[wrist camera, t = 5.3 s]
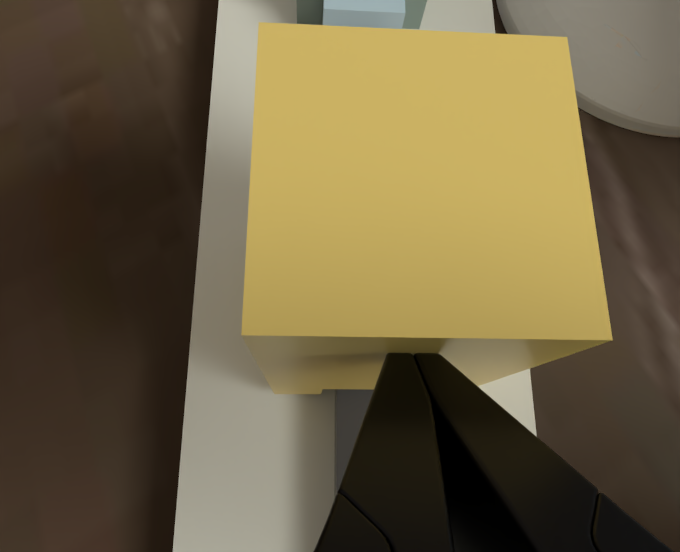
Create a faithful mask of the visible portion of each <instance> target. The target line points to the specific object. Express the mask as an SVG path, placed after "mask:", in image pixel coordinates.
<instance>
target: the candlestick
mask: <svg viewBox="0 0 680 552" xmlns="http://www.w3.org/2000/svg"><path fill="white" fill-rule="evenodd" d="M496 2H497V7H498V10H499V14H500V17H501V20H502V22H503V25H504V27H505V30H506V32H507V34H515V35H536V36H556V37H567V39H568V46H569V52H570V59H571V66H572V72H573V79H574V86H575V93H576V99H577V106H578V108H580V109H582V110H583V111H585V112H587V113H589V114H591V115H593V116H595V117H597V118H599V119H601V120H604V121H606V122H609V123H611V124H614V125H616V126H619V127H622V128H625V129H629V130H632V131H636V132H640V133H645V134H650V135H656V136H664V137H680V0H496Z"/></svg>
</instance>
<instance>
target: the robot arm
mask: <svg viewBox="0 0 680 552" xmlns="http://www.w3.org/2000/svg"><path fill="white" fill-rule="evenodd" d="M313 552H674V551H673V550H671V549H670V548H669V547H667V546H666V545H665V544H663V543H662V542H661V541H660V540H658V539H657V538H656V537H655V536H654V535H652V534H651V533H650V532H649V531H648V530H646V529H645V528H644V527H643V526H641V525H640V524H639V523H638V522H637V521H635V520H634V519H633V518H632V517H630V516H629V515H628V514H627V513H626V512H624V511H623V510H622V509H621V508H620V507H619V506H617V505H616V504H615V503H614V502H613V501H612V500H610V499H609V498H608V497H607V496H606V495H605V494H603V493H599V494H598V489H597V488H596V487H595V486H594V485H593V484H591V483H590V482H589V481H588V480H587V479H586V478H584V477H583V476H582V475H581V474H580V473H579V472H577V471H576V470H575V469H574V468H573V467H571V466H570V465H569V464H568V463H567V462H566V461H564V460H563V459H562V458H561V457H560V456H559V455H557V454H556V453H555V452H554V451H553V450H552V449H550V448H549V447H548V446H547V445H546V444H545V443H543V442H542V441H541V440H540V439H539V438H538V437H536V436H535V435H534V434H533V433H532V432H531V431H529V430H528V429H527V428H526V427H525V426H524V425H522V424H521V423H520V422H519V421H518V420H517V419H515V418H514V417H513V416H512V415H511V414H510V413H508V412H507V411H506V410H505V409H504V408H503V407H501V406H500V405H499V404H498V403H497V402H496V401H494V400H493V399H492V398H491V397H490V396H488V395H487V394H486V393H485V392H484V391H483V390H481V389H480V388H479V387H478V386H477V385H476V384H474V383H473V382H472V381H471V380H470V379H469V378H467V377H466V376H465V375H464V374H463V373H462V372H460V371H459V370H458V369H457V368H456V367H455V366H453V365H452V364H451V363H450V362H449V361H448V360H446V359H445V358H444V357H443V356H442V355H440V354H438V353H416V354H414V355H412V354H411V353H388V354H387V355H386V357H385V360H384V363H383V365H382V368H381V371H380V374H379V377H378V379H377V382H376V385H375V388H374V391H373V393H372V396H371V399H370V402H369V405H368V407H367V410H366V413H365V416H364V419H363V421H362V424H361V427H360V430H359V433H358V435H357V438H356V441H355V444H354V447H353V449H352V452H351V455H350V458H349V460H348V463H347V466H346V469H345V472H344V474H343V477H342V480H341V483H340V486H339V488H338V491H337V495H336V496H335V498H334V501H333V504H332V507H331V510H330V512H329V515H328V518H327V520H326V523H325V525H324V528H323V530H322V533H321V535H320V537H319V540H318V542H317V545H316V547H315V549H314V551H313Z"/></svg>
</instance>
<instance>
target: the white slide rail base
mask: <svg viewBox="0 0 680 552" xmlns="http://www.w3.org/2000/svg"><path fill="white" fill-rule="evenodd" d="M259 22H266V23H287V24H308V25H328V26H349V27H370V28H390V29H411V30H432V31H453V32H473V33H494V34H495V25H494V15H493V5H492V0H219V4H218V16H217V27H216V39H215V51H214V63H213V75H212V87H211V99H210V111H209V123H208V135H207V147H206V159H205V171H204V183H203V195H202V207H201V219H200V231H199V243H198V254H197V266H196V278H195V290H194V302H193V314H192V326H191V338H190V350H189V362H188V374H187V386H186V398H185V410H184V422H183V434H182V446H181V458H180V469H179V481H178V493H177V505H176V517H175V529H174V541H173V552H313V551H314V549H315V547H316V545H317V542H318V540H319V537H320V535H321V533H322V530H323V528H324V525H325V523H326V520H327V518H328V515H329V512H330V510H331V507H332V504H333V501H334V498H335V496H336V495H337V491H338V488H339V486H340V483H341V480H342V477H343V474H344V472H345V469H346V466H347V463H348V460H349V458H350V455H351V452H352V449H353V447H354V444H355V441H356V438H357V435H358V433H359V430H360V427H361V424H362V421H363V419H364V416H365V413H366V410H367V407H368V405H369V402H370V399H371V396H372V393H373V391H374V390H370V389H323V390H322V393H321V394H274V393H273V391H272V389H271V387H270V386H269V384H268V382H267V380H266V378H265V377H264V375H263V373H262V371H261V370H260V368H259V366H258V364H257V362H256V361H255V359H254V357H253V355H252V354H251V352H250V350H249V348H248V346H247V345H246V343H245V341H244V339H243V338H242V336H241V331H242V313H243V295H244V277H245V259H246V241H247V223H248V205H249V187H250V169H251V151H252V133H253V115H254V97H255V79H256V61H257V44H258V26H259ZM478 387H479V388H480V389H481V390H483V391H484V392H485V393H486V394H487V395H488V396H490V397H491V398H492V399H493V400H494V401H496V402H497V403H498V404H499V405H500V406H501V407H503V408H504V409H505V410H506V411H507V412H508V413H510V414H511V415H512V416H513V417H514V418H515V419H517V420H518V421H519V422H520V423H521V424H522V425H524V426H525V427H526V428H527V429H528V430H529V431H531V432H532V433H533V434H534V435H535V436H536V426H535V416H534V406H533V396H532V387H531V377H530V369H527V370H524V371H521V372H518V373H515V374H512V375H509V376H506V377H503V378H500V379H497V380H494V381H491V382H488V383H486V384H483V385H480V386H478ZM536 437H537V436H536Z"/></svg>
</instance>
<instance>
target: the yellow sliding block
mask: <svg viewBox="0 0 680 552" xmlns="http://www.w3.org/2000/svg"><path fill="white" fill-rule="evenodd" d="M241 336H242V338H243V339H244V341H245V343H246V345H247V346H248V348H249V350H250V352H251V354H252V355H253V357H254V359H255V361H256V362H257V364H258V366H259V368H260V370H261V371H262V373H263V375H264V377H265V378H266V380H267V382H268V384H269V386H270V387H271V389H272V391H273V393H274V394H321V393H322V390H323V389H370V390H374V388H375V385H376V382H377V379H378V377H379V374H380V371H381V368H382V365H383V363H384V360H385V357H386V355H387V354H388V353H411V354H412V355H414V354H416V353H438V354H440V355H442V356H443V357H444V358H445V359H446V360H448V361H449V362H450V363H451V364H452V365H453V366H455V367H456V368H457V369H458V370H459V371H460V372H462V373H463V374H464V375H465V376H466V377H467V378H469V379H470V380H471V381H472V382H473V383H474V384H476V385H477V386H480V385H483V384H486V383H488V382H491V381H494V380H497V379H500V378H503V377H506V376H509V375H512V374H515V373H518V372H521V371H524V370H527V369H530V368H533V367H535V366H538V365H541V364H544V363H547V362H550V361H553V360H556V359H559V358H562V357H565V356H568V355H571V354H574V353H577V352H580V351H582V350H585V349H588V348H591V347H594V346H597V345H600V344H603V343H606V342H609V341H612V333H611V326H610V320H609V313H608V306H607V300H606V293H605V286H604V280H603V273H602V266H601V260H600V253H599V246H598V239H597V233H596V226H595V219H594V213H593V206H592V199H591V193H590V186H589V179H588V173H587V166H586V159H585V153H584V146H583V139H582V133H581V126H580V119H579V113H578V106H577V99H576V93H575V86H574V79H573V72H572V66H571V59H570V52H569V46H568V39H567V37H556V36H536V35H515V34H494V33H473V32H453V31H432V30H411V29H390V28H370V27H349V26H328V25H308V24H287V23H266V22H259V26H258V44H257V61H256V79H255V97H254V115H253V133H252V151H251V169H250V187H249V205H248V223H247V241H246V259H245V277H244V295H243V313H242V331H241Z"/></svg>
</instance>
